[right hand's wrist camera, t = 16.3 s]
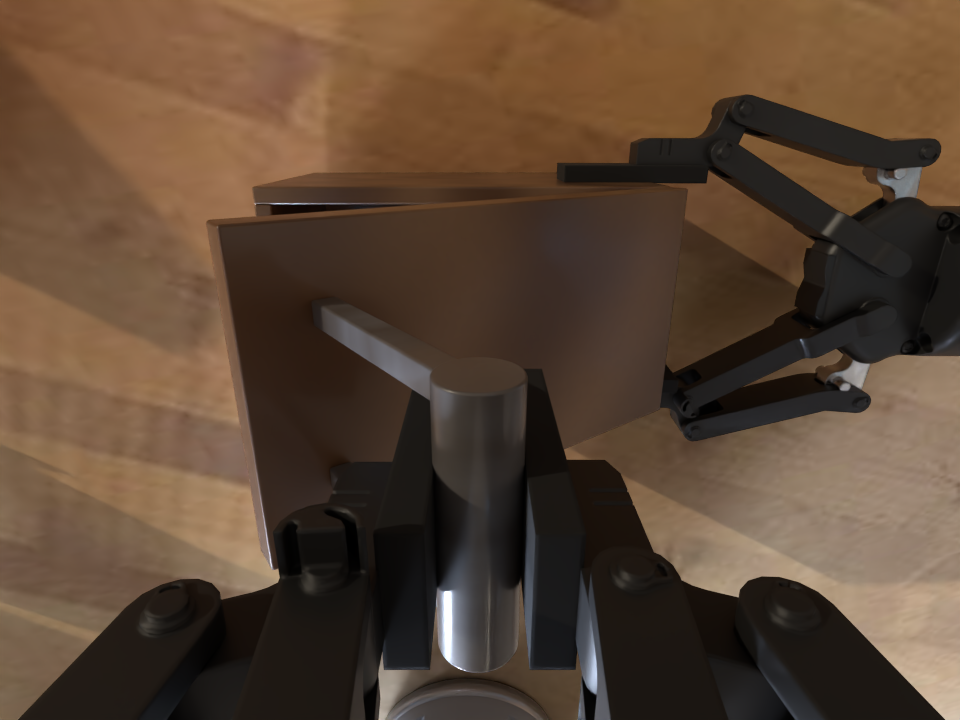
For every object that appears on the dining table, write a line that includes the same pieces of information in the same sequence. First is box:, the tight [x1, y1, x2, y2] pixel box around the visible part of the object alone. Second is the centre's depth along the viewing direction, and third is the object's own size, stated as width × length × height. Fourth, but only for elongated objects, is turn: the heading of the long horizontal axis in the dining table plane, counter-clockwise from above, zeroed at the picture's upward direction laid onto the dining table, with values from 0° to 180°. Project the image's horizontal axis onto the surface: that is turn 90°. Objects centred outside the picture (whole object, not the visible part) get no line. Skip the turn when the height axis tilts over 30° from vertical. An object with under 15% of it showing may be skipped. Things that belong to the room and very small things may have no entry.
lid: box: [206, 187, 688, 673], centre depth 17 cm, size 18×10×9 cm
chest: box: [252, 173, 669, 216], centre depth 30 cm, size 17×10×10 cm, turn 90°
